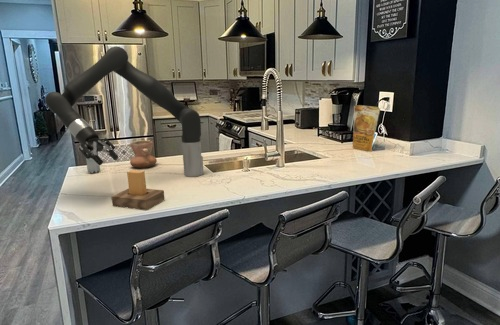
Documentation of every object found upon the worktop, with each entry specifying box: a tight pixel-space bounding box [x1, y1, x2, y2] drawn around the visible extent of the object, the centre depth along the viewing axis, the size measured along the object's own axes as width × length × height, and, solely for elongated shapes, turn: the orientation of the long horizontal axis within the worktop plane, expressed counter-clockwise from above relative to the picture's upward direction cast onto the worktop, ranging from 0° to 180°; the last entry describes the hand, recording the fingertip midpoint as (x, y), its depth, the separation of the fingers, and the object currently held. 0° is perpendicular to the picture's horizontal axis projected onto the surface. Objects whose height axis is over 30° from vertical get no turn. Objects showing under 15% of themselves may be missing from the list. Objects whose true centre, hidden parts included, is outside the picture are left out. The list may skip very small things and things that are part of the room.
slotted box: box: [111, 188, 166, 211], centre depth 140 cm, size 16×12×4 cm
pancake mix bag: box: [352, 104, 381, 152], centre depth 224 cm, size 7×19×28 cm, turn 30°
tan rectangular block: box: [126, 169, 147, 196], centre depth 139 cm, size 6×3×13 cm, turn 70°
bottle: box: [85, 149, 101, 174], centre depth 186 cm, size 7×7×20 cm
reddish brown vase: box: [129, 140, 157, 169], centre depth 198 cm, size 18×14×14 cm
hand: (109, 161), depth 141 cm, fingers open, 8 cm apart
